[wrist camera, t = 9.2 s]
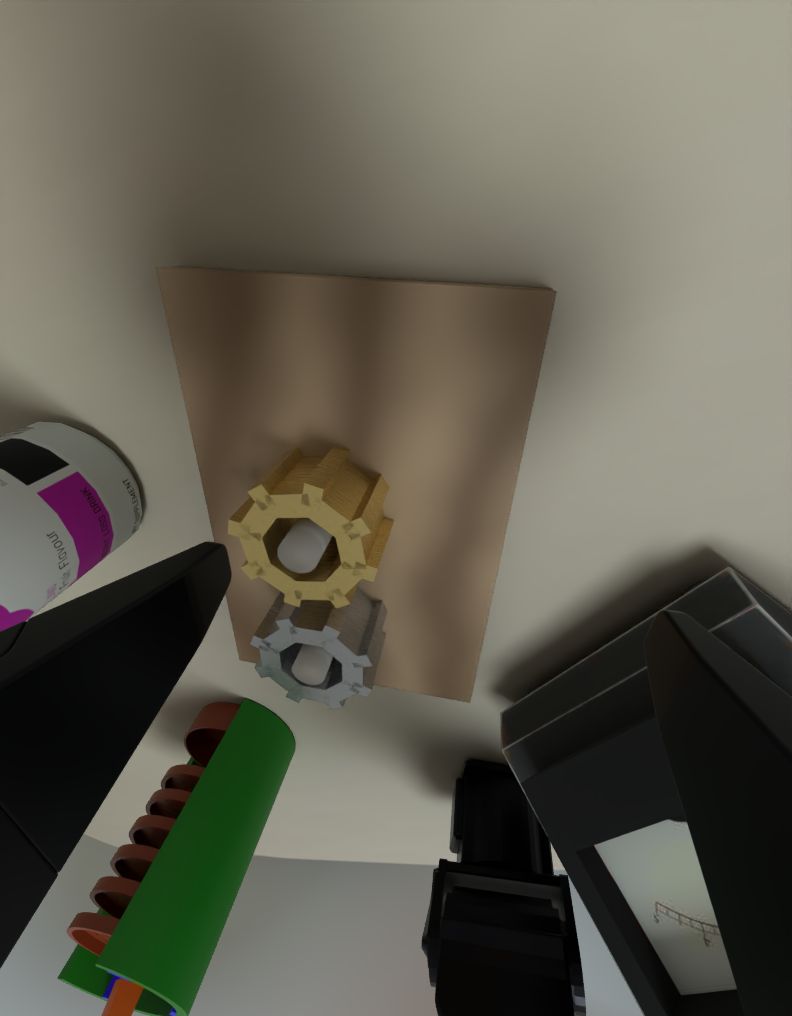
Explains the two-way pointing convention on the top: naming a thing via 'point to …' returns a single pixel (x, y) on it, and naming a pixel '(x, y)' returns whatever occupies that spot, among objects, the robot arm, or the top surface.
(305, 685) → the steel gear
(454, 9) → the top surface
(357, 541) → the brass gear
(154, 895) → the motor
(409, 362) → the board
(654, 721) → the voltmeter
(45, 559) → the supplement can
